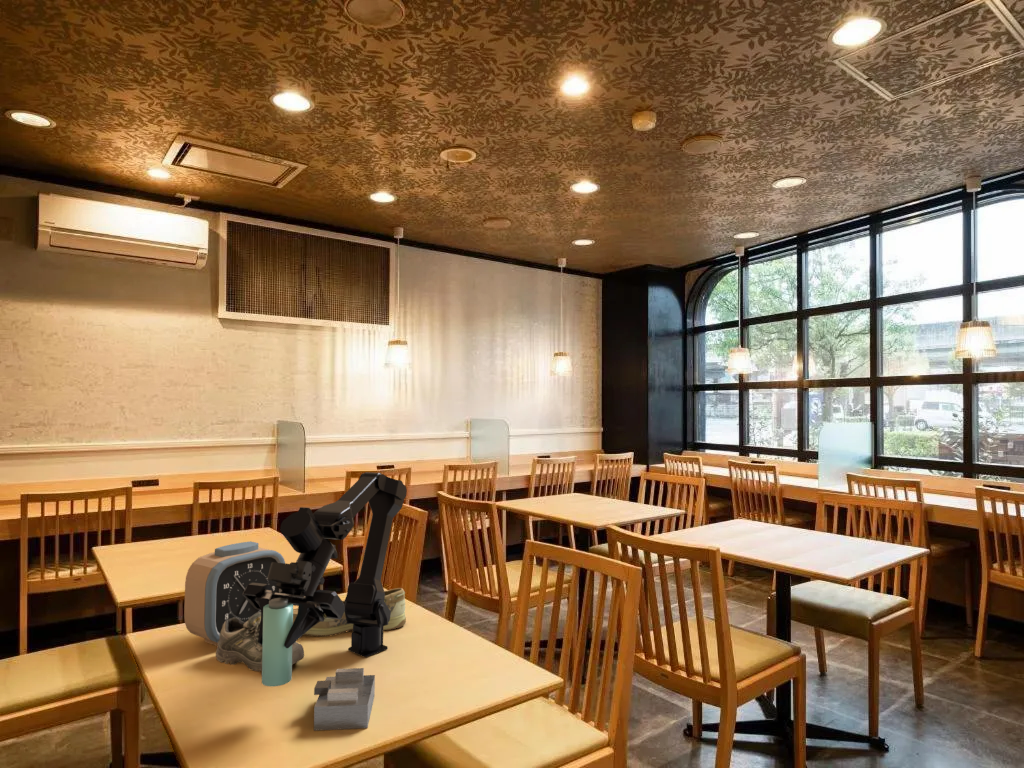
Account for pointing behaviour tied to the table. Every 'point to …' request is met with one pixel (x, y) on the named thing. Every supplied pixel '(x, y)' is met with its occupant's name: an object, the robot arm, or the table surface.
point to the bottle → (276, 642)
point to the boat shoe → (336, 626)
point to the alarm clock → (225, 586)
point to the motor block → (344, 700)
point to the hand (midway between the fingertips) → (272, 645)
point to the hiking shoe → (246, 643)
